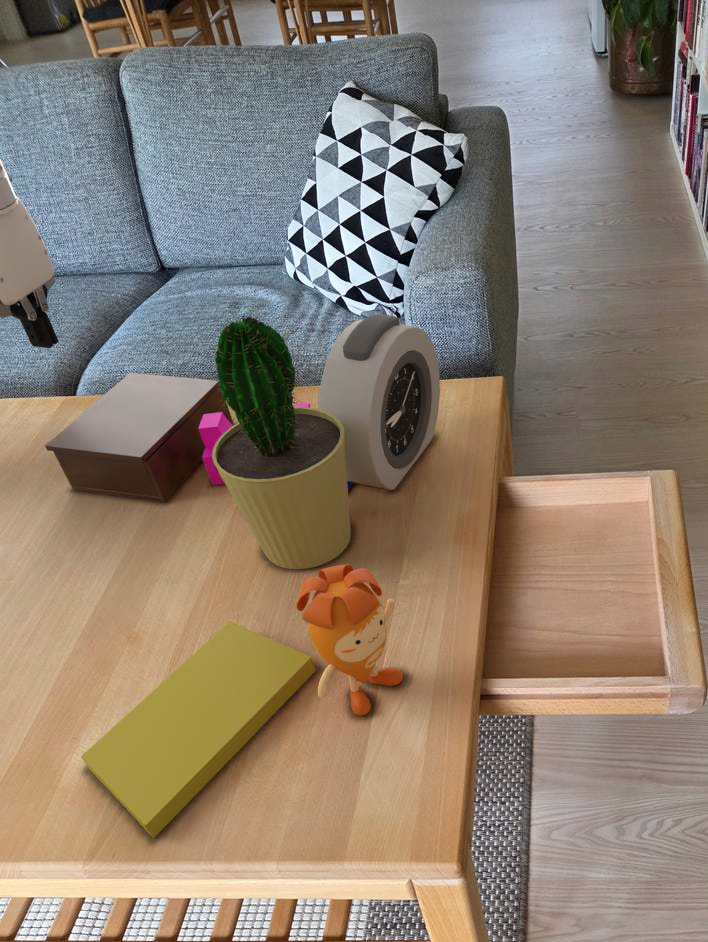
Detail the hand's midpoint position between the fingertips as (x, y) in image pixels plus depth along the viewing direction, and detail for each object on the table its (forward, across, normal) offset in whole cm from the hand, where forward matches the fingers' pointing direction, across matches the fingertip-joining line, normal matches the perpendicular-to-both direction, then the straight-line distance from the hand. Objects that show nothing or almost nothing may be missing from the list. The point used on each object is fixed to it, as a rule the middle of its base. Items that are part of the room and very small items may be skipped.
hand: (45, 344), depth 114 cm
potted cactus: (+18, +9, +39) cm, 44 cm away
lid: (+12, -3, +7) cm, 14 cm away
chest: (+19, -4, +8) cm, 21 cm away
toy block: (+18, -5, +26) cm, 32 cm away
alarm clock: (+18, -10, +43) cm, 47 cm away
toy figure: (+18, +31, +56) cm, 67 cm away
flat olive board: (+19, +40, +41) cm, 60 cm away
